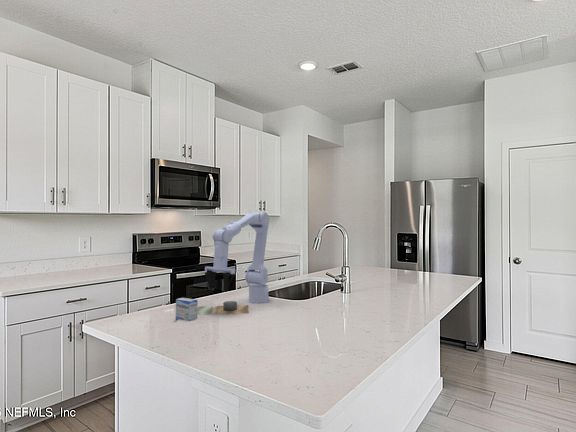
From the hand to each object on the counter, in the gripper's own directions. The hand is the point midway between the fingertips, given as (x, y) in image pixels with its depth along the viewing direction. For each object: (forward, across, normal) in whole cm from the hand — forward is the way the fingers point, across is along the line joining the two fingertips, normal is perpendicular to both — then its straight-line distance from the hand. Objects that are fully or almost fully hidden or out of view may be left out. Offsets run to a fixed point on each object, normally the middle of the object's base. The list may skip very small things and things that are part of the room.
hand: (218, 289), depth 159 cm
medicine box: (+13, -7, -10) cm, 18 cm away
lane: (+10, -4, +6) cm, 13 cm away
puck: (+9, +1, +9) cm, 13 cm away
